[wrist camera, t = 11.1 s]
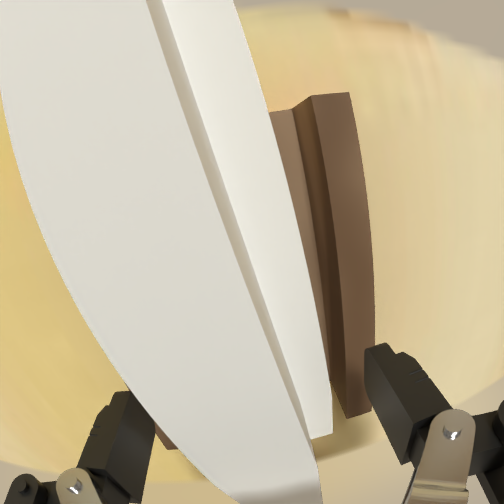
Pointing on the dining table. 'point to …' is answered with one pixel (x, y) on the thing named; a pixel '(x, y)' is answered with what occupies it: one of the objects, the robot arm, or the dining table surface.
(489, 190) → the dining table surface
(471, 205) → the dining table surface
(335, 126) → the walnut channel
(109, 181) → the shelf bracket
